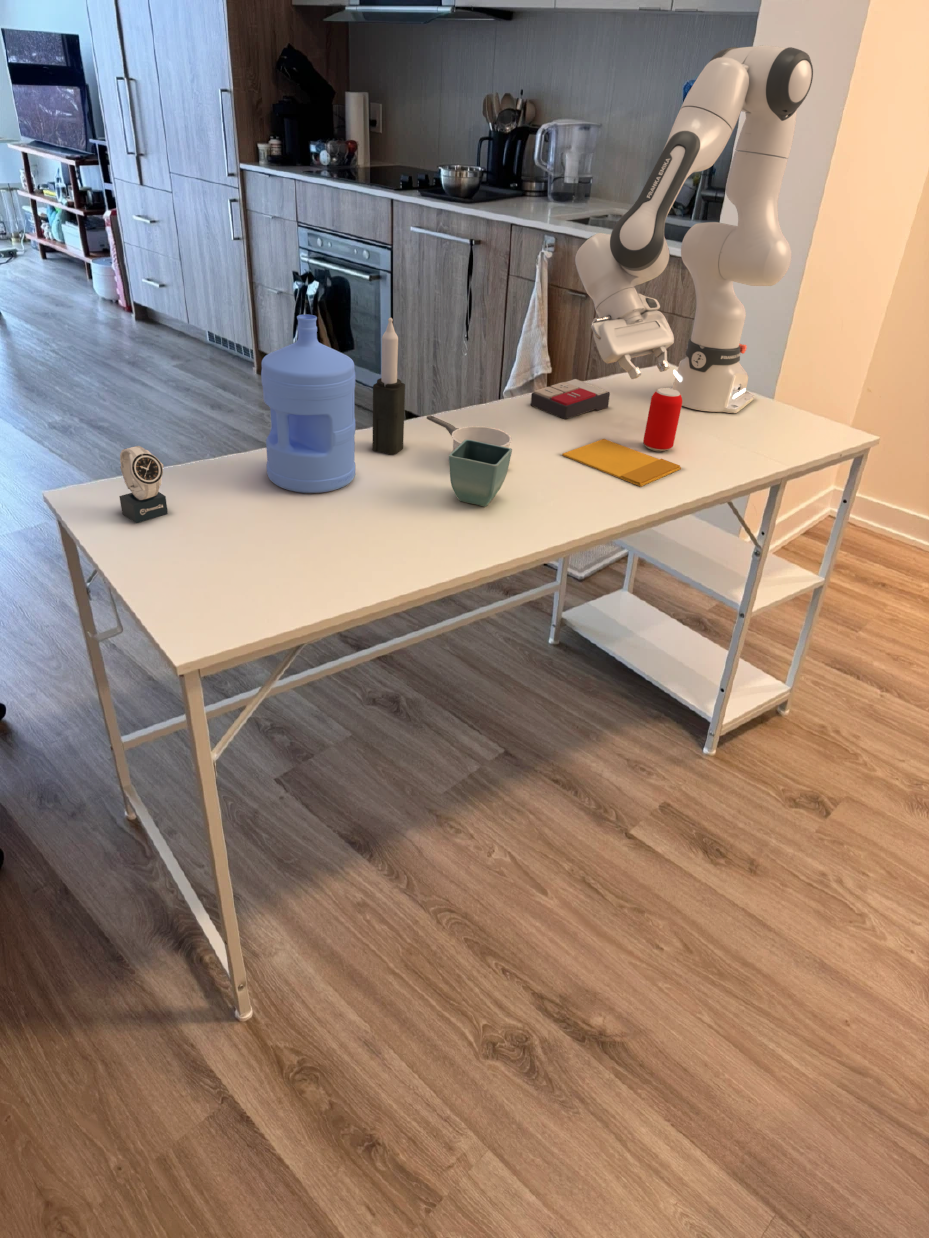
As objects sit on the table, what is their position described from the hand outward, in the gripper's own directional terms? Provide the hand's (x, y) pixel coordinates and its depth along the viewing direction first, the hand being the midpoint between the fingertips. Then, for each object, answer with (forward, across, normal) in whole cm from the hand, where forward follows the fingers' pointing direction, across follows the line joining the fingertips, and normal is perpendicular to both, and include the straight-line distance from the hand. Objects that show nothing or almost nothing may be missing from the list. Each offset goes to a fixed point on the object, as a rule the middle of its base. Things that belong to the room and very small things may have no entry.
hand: (651, 373), depth 175 cm
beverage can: (+14, 0, +7) cm, 15 cm away
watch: (-7, -98, +26) cm, 102 cm away
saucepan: (+1, -38, +19) cm, 43 cm away
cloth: (+14, -13, +6) cm, 20 cm away
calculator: (-6, +3, +26) cm, 27 cm away
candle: (-7, -48, +27) cm, 56 cm away
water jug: (-5, -68, +25) cm, 73 cm away
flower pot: (+12, -50, +8) cm, 52 cm away
